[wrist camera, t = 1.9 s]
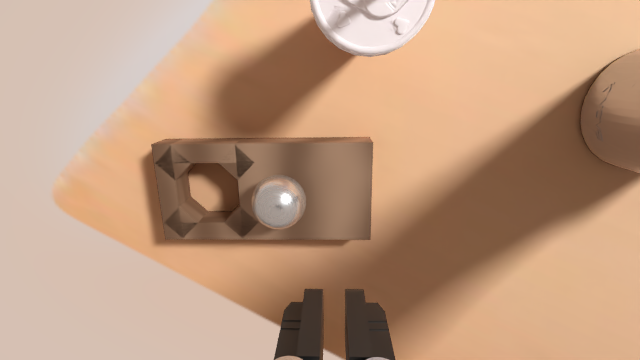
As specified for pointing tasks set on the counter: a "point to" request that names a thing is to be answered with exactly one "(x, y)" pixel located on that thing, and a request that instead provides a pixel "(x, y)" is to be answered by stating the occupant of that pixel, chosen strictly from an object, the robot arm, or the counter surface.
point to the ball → (278, 202)
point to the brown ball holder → (254, 166)
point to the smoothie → (370, 23)
